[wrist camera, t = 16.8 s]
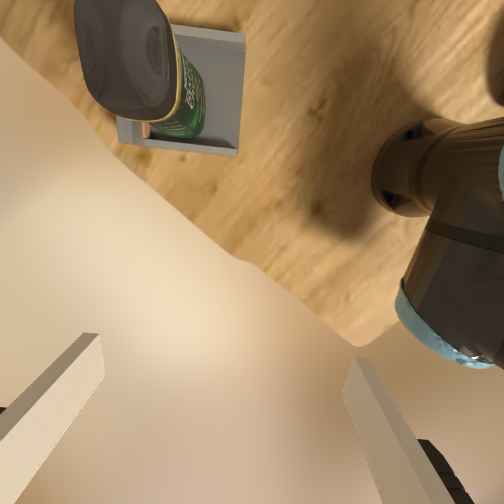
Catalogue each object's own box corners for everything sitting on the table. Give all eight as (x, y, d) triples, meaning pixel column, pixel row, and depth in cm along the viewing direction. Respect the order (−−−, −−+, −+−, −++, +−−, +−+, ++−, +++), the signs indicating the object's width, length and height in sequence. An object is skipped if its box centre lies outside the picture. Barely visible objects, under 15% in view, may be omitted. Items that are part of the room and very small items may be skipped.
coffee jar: (208, 140, 37) (168, 118, 20) (159, 138, 37) (75, 113, 20) (207, 67, 34) (157, -38, 16) (152, 64, 34) (45, -44, 16)
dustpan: (246, 46, 34) (242, -6, 23) (237, 157, 39) (231, 154, 29) (128, 31, 33) (71, -29, 23) (135, 145, 38) (92, 138, 28)
